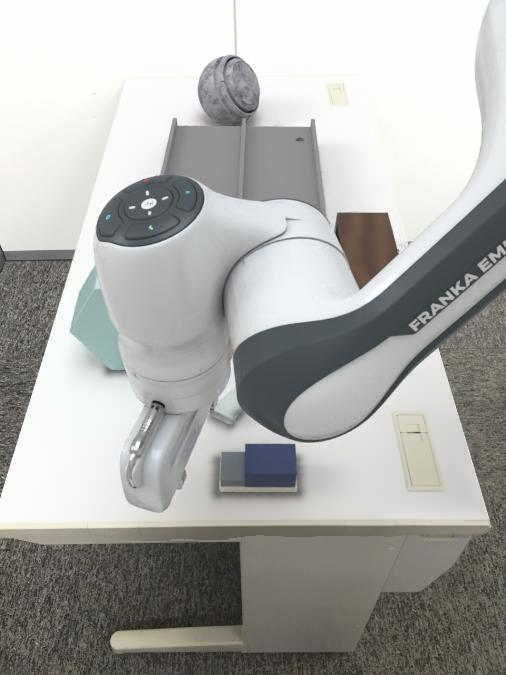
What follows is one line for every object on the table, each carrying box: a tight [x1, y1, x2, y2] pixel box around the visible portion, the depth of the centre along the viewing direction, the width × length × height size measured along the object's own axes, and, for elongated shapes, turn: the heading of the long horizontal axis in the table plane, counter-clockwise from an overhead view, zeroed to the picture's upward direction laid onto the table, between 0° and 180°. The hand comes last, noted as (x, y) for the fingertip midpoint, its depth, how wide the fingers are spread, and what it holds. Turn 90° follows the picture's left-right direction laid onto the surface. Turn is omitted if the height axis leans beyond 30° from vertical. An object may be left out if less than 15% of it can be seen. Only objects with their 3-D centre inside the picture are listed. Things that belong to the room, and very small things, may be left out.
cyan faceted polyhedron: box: [69, 263, 126, 371], centre depth 77 cm, size 17×8×21 cm
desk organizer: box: [160, 117, 328, 219], centre depth 107 cm, size 32×40×7 cm
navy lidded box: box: [218, 443, 298, 493], centre depth 68 cm, size 10×4×5 cm, turn 90°
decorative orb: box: [197, 54, 261, 126], centre depth 125 cm, size 15×14×15 cm
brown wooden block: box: [333, 211, 400, 290], centre depth 91 cm, size 9×20×8 cm, turn 0°
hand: (193, 441), depth 56 cm, fingers open, 8 cm apart
